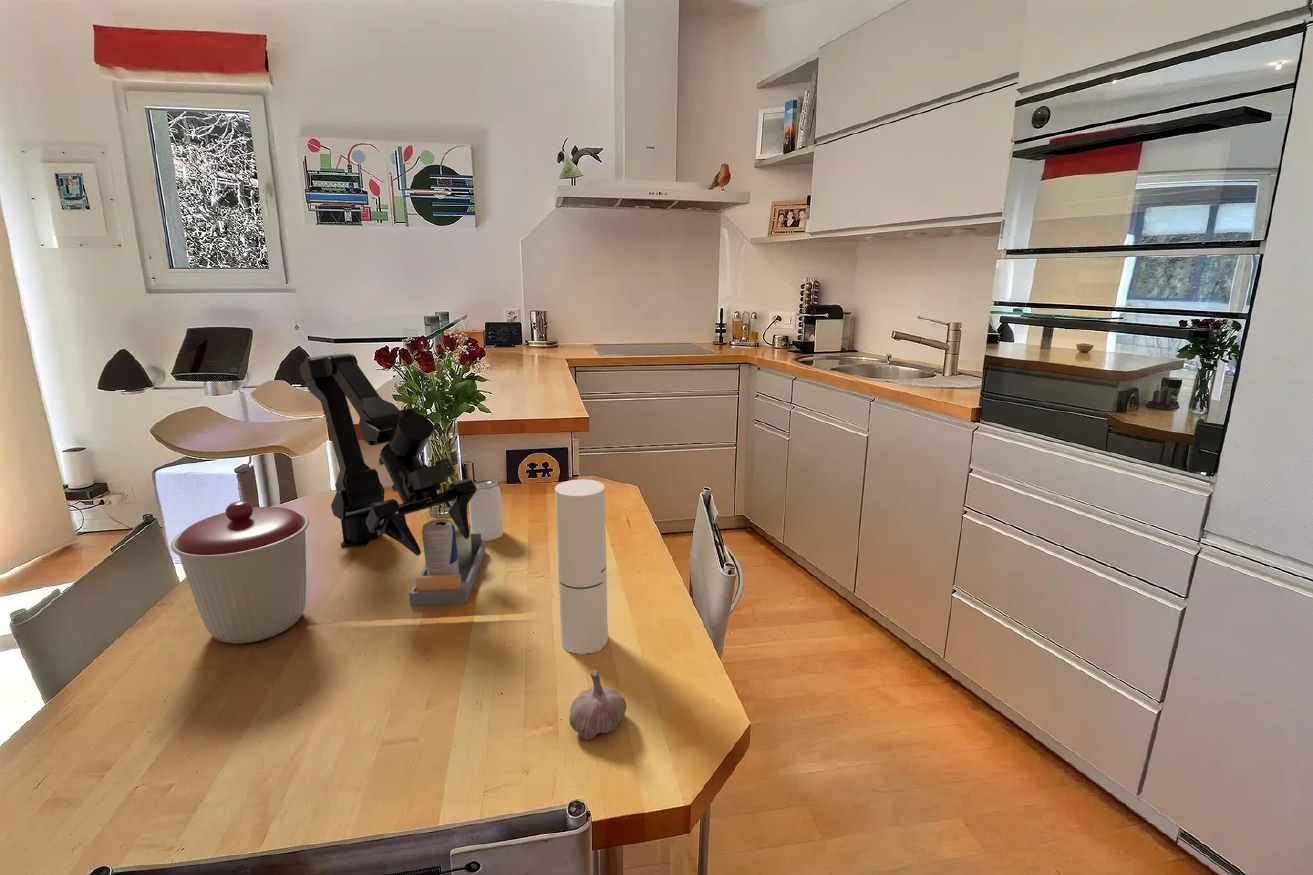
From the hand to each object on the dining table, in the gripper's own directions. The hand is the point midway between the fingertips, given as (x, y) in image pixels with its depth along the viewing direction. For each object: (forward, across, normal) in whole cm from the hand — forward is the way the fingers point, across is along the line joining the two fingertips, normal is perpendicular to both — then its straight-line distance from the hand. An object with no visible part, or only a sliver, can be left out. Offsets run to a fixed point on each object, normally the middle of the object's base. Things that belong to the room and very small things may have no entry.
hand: (444, 545), depth 113 cm
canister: (-2, -26, +16) cm, 31 cm away
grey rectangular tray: (+4, +3, +10) cm, 11 cm away
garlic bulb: (+38, -5, -24) cm, 45 cm away
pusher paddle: (+7, -3, +4) cm, 9 cm away
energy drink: (+5, 0, +7) cm, 9 cm away
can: (-4, +18, +18) cm, 26 cm away
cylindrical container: (+27, +6, -14) cm, 31 cm away
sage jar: (0, +7, +12) cm, 14 cm away
